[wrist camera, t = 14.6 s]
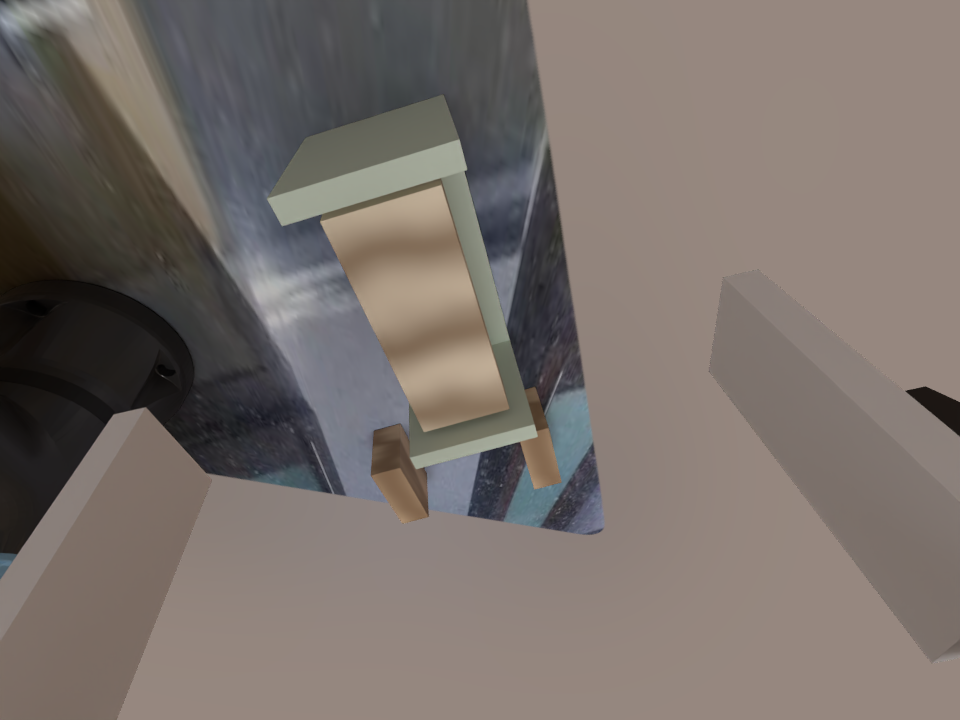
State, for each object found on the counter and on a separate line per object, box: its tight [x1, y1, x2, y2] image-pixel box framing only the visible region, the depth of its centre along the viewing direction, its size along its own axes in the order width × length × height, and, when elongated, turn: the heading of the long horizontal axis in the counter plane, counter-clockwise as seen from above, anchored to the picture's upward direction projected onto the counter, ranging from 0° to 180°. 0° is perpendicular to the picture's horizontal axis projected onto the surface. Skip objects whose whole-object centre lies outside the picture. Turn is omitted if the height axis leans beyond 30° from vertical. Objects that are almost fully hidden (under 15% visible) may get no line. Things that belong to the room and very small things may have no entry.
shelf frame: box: [267, 94, 538, 469], centre depth 35 cm, size 23×10×12 cm, turn 14°
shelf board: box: [320, 178, 510, 432], centre depth 33 cm, size 18×7×2 cm, turn 14°
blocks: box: [371, 387, 561, 524], centre depth 51 cm, size 18×9×6 cm, turn 104°
